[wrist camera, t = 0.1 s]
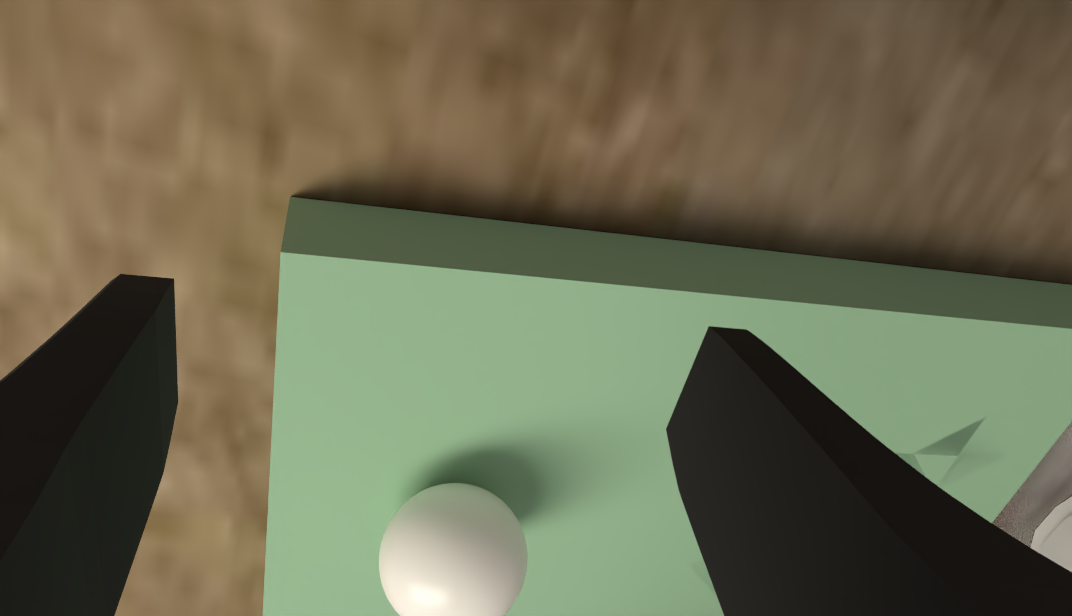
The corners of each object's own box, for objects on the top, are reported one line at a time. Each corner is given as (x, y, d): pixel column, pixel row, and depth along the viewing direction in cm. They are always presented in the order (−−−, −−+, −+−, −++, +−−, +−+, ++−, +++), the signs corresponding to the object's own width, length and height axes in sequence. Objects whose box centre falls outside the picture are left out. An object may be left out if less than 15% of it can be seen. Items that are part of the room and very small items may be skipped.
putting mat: (863, 595, 36) (892, 650, 34) (268, 594, 30) (260, 659, 28) (1082, 286, 27) (1139, 335, 25) (290, 196, 21) (280, 252, 19)
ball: (503, 546, 26) (520, 667, 23) (371, 544, 25) (371, 669, 22) (530, 455, 24) (553, 575, 21) (386, 449, 23) (388, 574, 20)
